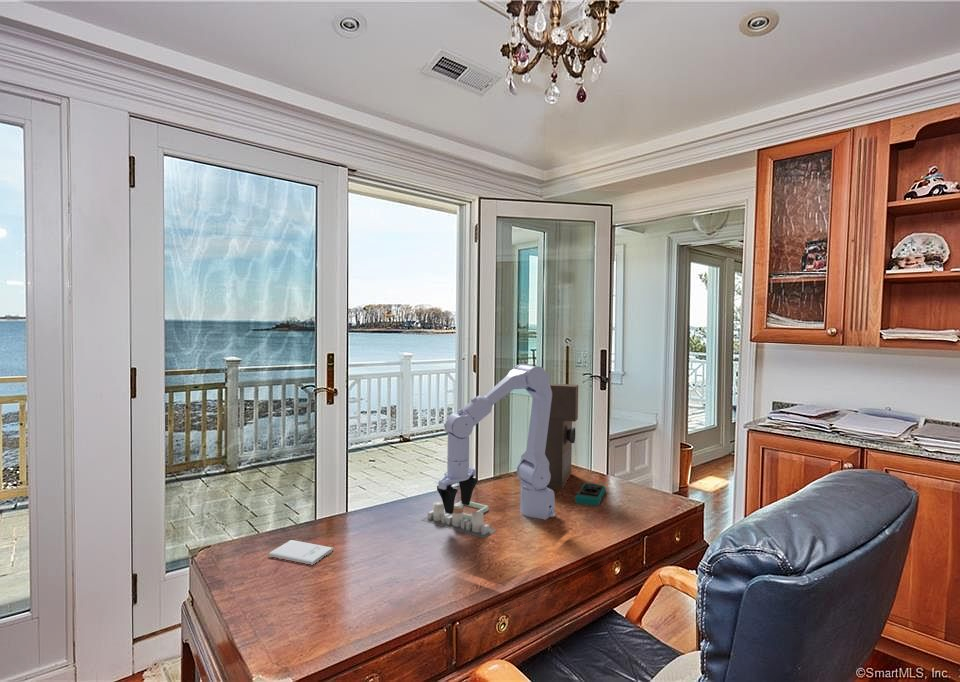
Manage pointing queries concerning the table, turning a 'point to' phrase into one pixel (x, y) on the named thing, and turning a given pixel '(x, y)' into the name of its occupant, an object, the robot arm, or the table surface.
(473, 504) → the tray
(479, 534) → the fuse board
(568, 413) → the tall box with knob
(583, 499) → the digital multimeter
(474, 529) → the cylinder
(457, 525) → the cylinder
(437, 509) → the white glossy rounded part
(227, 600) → the table surface
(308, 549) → the external hard drive
